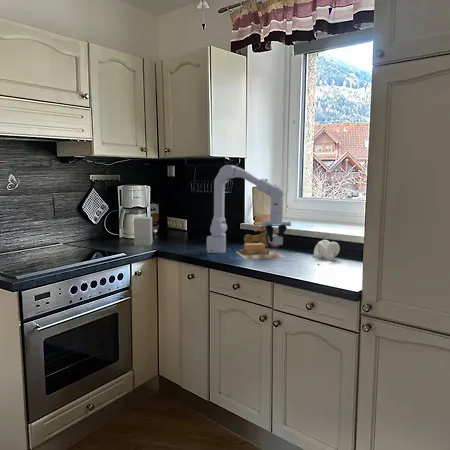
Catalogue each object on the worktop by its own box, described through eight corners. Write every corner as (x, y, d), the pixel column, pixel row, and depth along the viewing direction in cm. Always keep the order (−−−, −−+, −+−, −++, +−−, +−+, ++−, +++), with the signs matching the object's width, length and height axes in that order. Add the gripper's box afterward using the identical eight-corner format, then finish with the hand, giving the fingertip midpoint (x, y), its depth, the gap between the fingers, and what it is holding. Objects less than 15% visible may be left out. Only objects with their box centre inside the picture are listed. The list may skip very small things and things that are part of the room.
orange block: (247, 254, 204) (247, 245, 204) (244, 252, 209) (244, 243, 208) (264, 253, 206) (264, 244, 206) (261, 251, 211) (261, 242, 211)
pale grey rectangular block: (274, 245, 197) (274, 237, 197) (268, 242, 206) (268, 235, 206) (282, 244, 198) (282, 237, 198) (275, 241, 207) (276, 234, 207)
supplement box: (153, 243, 237) (152, 216, 235) (150, 246, 228) (150, 218, 226) (136, 242, 237) (136, 216, 235) (133, 245, 228) (133, 218, 226)
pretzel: (306, 258, 201) (307, 240, 200) (323, 255, 208) (324, 237, 207) (325, 263, 192) (326, 243, 191) (342, 260, 199) (343, 241, 198)
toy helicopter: (280, 248, 227) (281, 222, 225) (249, 251, 216) (249, 225, 214) (271, 245, 233) (272, 221, 232) (240, 249, 223) (240, 223, 221)
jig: (245, 261, 194) (245, 255, 193) (235, 253, 210) (235, 248, 210) (286, 259, 199) (286, 254, 198) (273, 252, 215) (273, 247, 215)
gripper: (264, 213, 195) (263, 243, 196) (294, 213, 198) (292, 242, 200) (259, 212, 201) (258, 240, 203) (288, 212, 205) (287, 239, 207)
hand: (275, 241), depth 202 cm, fingers closed on pale grey rectangular block, 4 cm apart
